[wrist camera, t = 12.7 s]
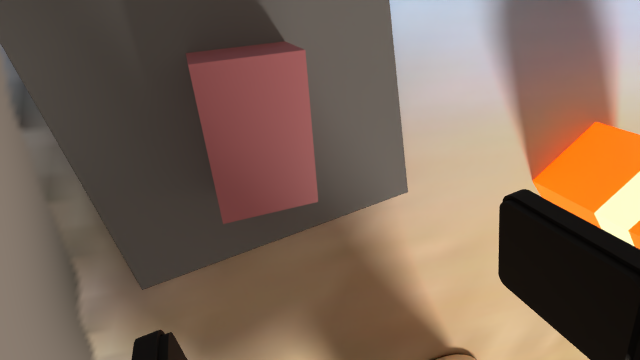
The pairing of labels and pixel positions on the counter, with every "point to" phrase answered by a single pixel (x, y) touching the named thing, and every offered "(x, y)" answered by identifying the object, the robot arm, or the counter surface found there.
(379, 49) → the mat
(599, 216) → the orange juice
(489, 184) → the counter surface
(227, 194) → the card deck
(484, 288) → the counter surface
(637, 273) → the robot arm
